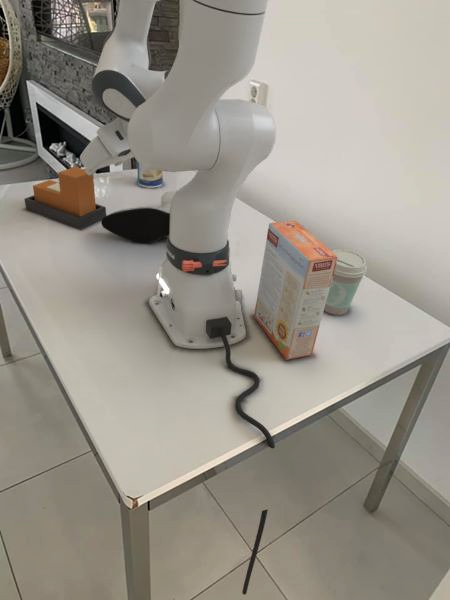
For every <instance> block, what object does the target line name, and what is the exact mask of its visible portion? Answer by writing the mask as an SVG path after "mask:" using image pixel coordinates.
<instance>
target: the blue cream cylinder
mask: <svg viewBox="0 0 450 600" xmlns="http://www.w3.org/2000/svg"><path fill="white" fill-rule="evenodd" d="M136 161H137V160H136ZM136 163H137V165H136V166H137V177H136V178H137V184H138V185H139V186H141V187H142V188H147V189H156V188H160V187H162V185H163V184H164V175H163V174H164V173H163V172H164V171H158V170H152V169H146V168H144V167H143V166H141V165H140V164H139V162H138V161H137V162H136Z"/></svg>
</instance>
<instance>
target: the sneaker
mask: <svg viewBox="0 0 450 600" xmlns="http://www.w3.org/2000/svg"><path fill="white" fill-rule="evenodd" d="M57 174H58V181H55V180H51V179H49V180H45V181H42V182H40V183H36V184H34V185H32V190H33V191H32V192H33V195H34V197H35V201H37V202H40V203H42V204H45V205H48V206H51V207H54V208H56V209H59V210H62V211H65V212H68V213H70V214H73V215H76V216H79V217H81V216H83V215H85V214H87V213H89V212H92V211H94V210H96V204H97V203H96V194H95V193H96V191H95V179H94V174H92V175H88V174H87V173H86V171H85V168H81V167H77V166H73V167H70V168H67V169H64V170H61V171H59V172H58V173H57Z"/></svg>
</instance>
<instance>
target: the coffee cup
mask: <svg viewBox="0 0 450 600" xmlns="http://www.w3.org/2000/svg"><path fill="white" fill-rule="evenodd" d="M331 251H332V252H333V253H334V254H336V255H337V256H338V259H337V263H336V267H335V271H334V274H333V278H332V282H331V285H330V289H329V293H328V296H327V300H326V304H325V308H324V311H323V312H325V313H328V314H330V315H335V316H341V315H344V314H346V313H347V312H348V310H349V309H350V306H351V304H352V301H353V300H354V297H355V295H356V292H357V290H358V288H359V286H360V284H361V282H362V279H363V277H364V276H365V275H366V274H367V273H368V271H367V269H368V266H367V260H366V258H365V257H364V256H363V255H362V254H360V253H358V252H355V251H353V250H349V249H334V250H331Z"/></svg>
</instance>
